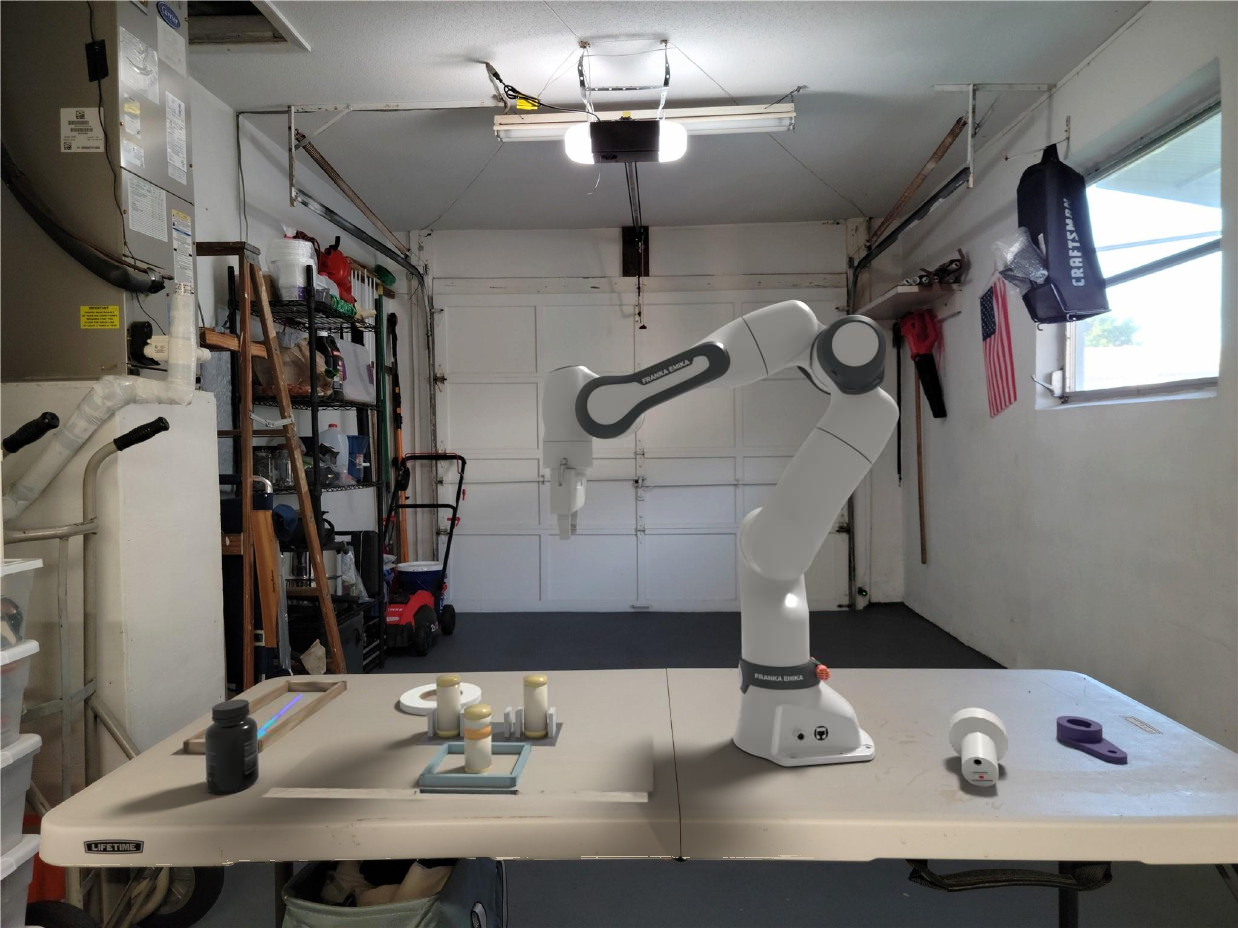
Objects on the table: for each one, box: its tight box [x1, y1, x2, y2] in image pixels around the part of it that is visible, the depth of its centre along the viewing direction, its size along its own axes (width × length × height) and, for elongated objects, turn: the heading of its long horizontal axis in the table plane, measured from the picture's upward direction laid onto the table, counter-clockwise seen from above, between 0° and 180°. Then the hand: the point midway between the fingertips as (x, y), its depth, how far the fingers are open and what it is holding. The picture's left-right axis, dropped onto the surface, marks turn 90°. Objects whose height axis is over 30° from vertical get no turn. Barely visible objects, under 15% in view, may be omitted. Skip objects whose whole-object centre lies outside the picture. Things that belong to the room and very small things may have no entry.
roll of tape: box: [399, 681, 482, 717], centre depth 134 cm, size 16×15×3 cm
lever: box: [1056, 715, 1128, 765], centre depth 111 cm, size 12×6×3 cm, turn 4°
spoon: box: [257, 693, 304, 739], centre depth 129 cm, size 25×4×1 cm, turn 3°
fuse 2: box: [522, 673, 548, 738], centre depth 117 cm, size 4×4×10 cm
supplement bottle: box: [204, 698, 260, 795], centre depth 102 cm, size 7×7×12 cm
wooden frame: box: [182, 680, 348, 754], centre depth 130 cm, size 13×32×2 cm, turn 177°
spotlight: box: [948, 707, 1009, 788], centre depth 103 cm, size 8×11×8 cm
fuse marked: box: [464, 703, 493, 774], centre depth 104 cm, size 4×4×10 cm
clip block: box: [415, 706, 564, 747], centre depth 117 cm, size 23×10×5 cm, turn 87°
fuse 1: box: [435, 673, 462, 738], centre depth 118 cm, size 4×4×10 cm
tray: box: [418, 742, 532, 796], centre depth 104 cm, size 14×12×2 cm
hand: (568, 536), depth 121 cm, fingers open, 8 cm apart
